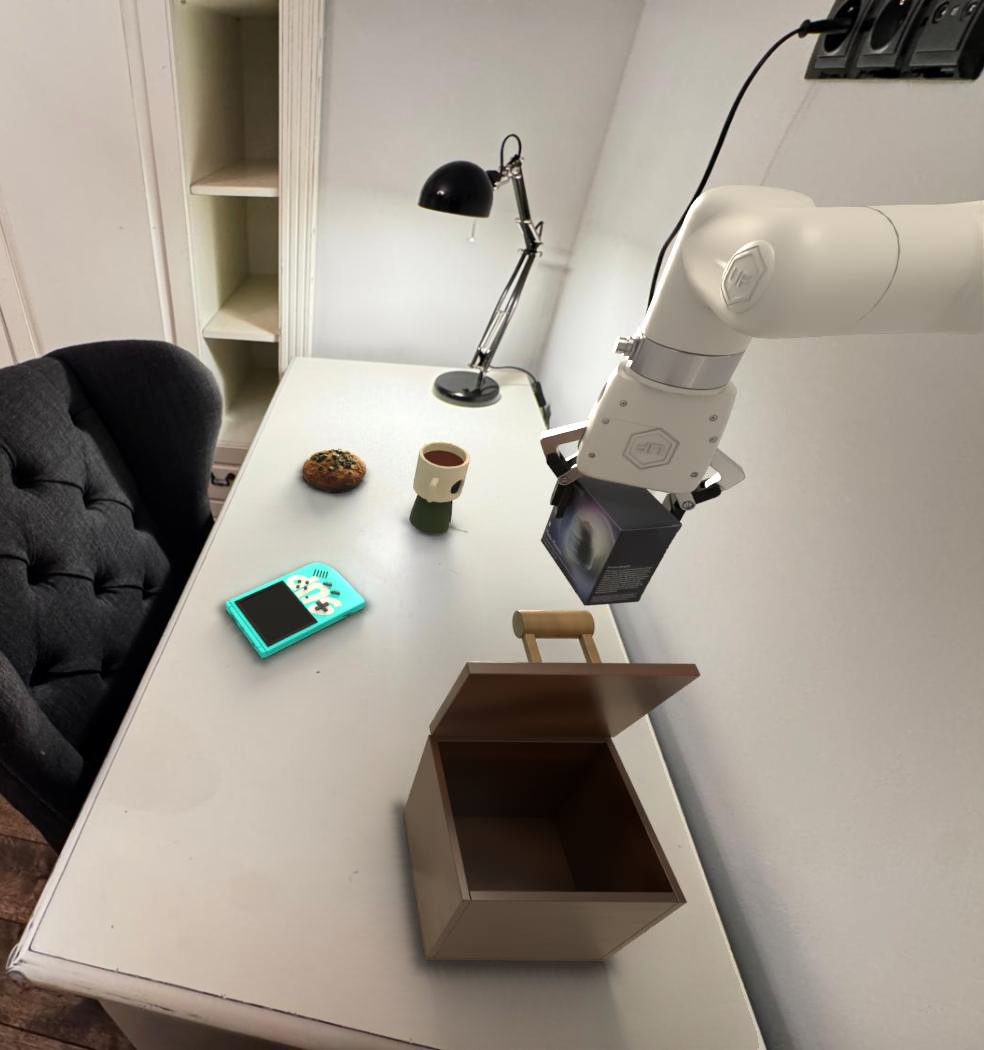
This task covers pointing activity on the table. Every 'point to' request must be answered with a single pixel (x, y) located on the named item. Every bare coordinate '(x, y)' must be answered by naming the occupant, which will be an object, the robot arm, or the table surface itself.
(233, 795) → the table surface
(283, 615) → the handheld game console
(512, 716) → the lid
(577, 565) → the small box
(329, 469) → the bread roll
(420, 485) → the character mug
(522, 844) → the brown wooden box
